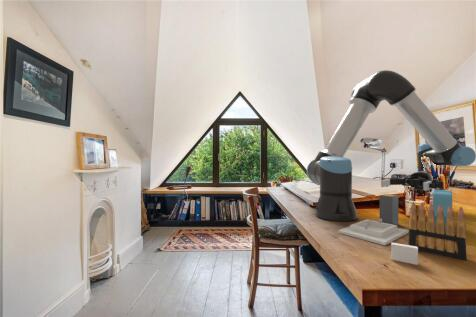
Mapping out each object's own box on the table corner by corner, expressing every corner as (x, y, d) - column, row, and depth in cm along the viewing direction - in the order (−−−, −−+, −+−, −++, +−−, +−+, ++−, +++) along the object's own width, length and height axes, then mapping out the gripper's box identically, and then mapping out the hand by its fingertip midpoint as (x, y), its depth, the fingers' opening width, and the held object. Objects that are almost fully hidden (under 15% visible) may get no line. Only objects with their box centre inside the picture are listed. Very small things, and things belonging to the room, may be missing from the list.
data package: (452, 234, 70) (452, 194, 70) (432, 231, 73) (432, 193, 73) (451, 225, 79) (451, 190, 79) (434, 223, 82) (434, 189, 82)
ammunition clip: (408, 248, 60) (408, 201, 59) (409, 246, 61) (409, 200, 61) (466, 261, 52) (467, 207, 52) (466, 258, 54) (466, 206, 54)
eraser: (418, 265, 51) (418, 248, 51) (391, 260, 53) (391, 244, 53) (417, 263, 52) (417, 246, 52) (391, 258, 54) (391, 242, 54)
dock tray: (338, 232, 72) (338, 221, 72) (365, 223, 82) (365, 213, 82) (384, 245, 62) (384, 232, 62) (408, 232, 72) (408, 221, 72)
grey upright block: (379, 224, 81) (379, 195, 81) (385, 221, 84) (385, 193, 84) (392, 226, 78) (392, 196, 78) (398, 224, 81) (398, 195, 81)
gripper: (461, 192, 89) (446, 199, 77) (388, 186, 109) (367, 191, 97) (461, 172, 89) (445, 176, 77) (388, 170, 109) (367, 173, 97)
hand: (402, 185), depth 87 cm, fingers open, 13 cm apart
